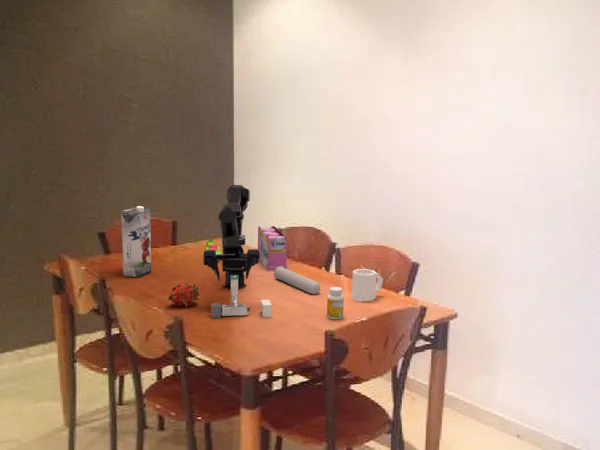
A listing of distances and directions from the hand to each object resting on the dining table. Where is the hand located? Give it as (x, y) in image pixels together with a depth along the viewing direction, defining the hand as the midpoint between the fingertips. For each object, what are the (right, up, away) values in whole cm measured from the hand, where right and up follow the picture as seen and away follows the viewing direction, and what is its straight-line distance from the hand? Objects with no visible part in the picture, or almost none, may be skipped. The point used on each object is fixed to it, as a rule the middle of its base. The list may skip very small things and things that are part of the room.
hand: (232, 279), depth 247 cm
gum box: (+10, +2, +64) cm, 65 cm away
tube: (+21, -6, +32) cm, 39 cm away
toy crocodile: (-15, +4, +72) cm, 73 cm away
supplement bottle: (+34, -13, -1) cm, 36 cm away
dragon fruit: (-17, -10, +7) cm, 21 cm away
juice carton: (-41, -2, +44) cm, 60 cm away
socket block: (+11, -12, 0) cm, 16 cm away
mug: (+46, -8, +20) cm, 51 cm away
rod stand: (0, -12, -2) cm, 12 cm away
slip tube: (+1, -11, -2) cm, 11 cm away
